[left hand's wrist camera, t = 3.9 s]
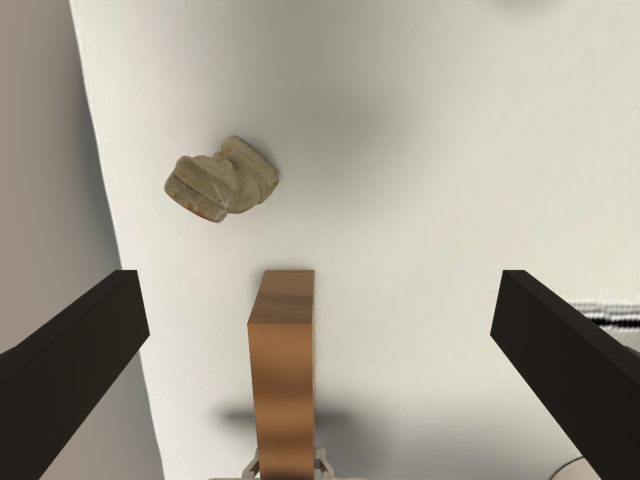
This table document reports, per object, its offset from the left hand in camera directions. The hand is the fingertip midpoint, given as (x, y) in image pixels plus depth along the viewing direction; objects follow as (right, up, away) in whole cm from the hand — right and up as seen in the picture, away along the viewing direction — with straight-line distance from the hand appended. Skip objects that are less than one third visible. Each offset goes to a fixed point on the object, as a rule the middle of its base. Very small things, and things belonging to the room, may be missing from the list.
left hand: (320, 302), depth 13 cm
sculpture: (-8, +11, +27) cm, 30 cm away
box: (-4, -14, +36) cm, 39 cm away
